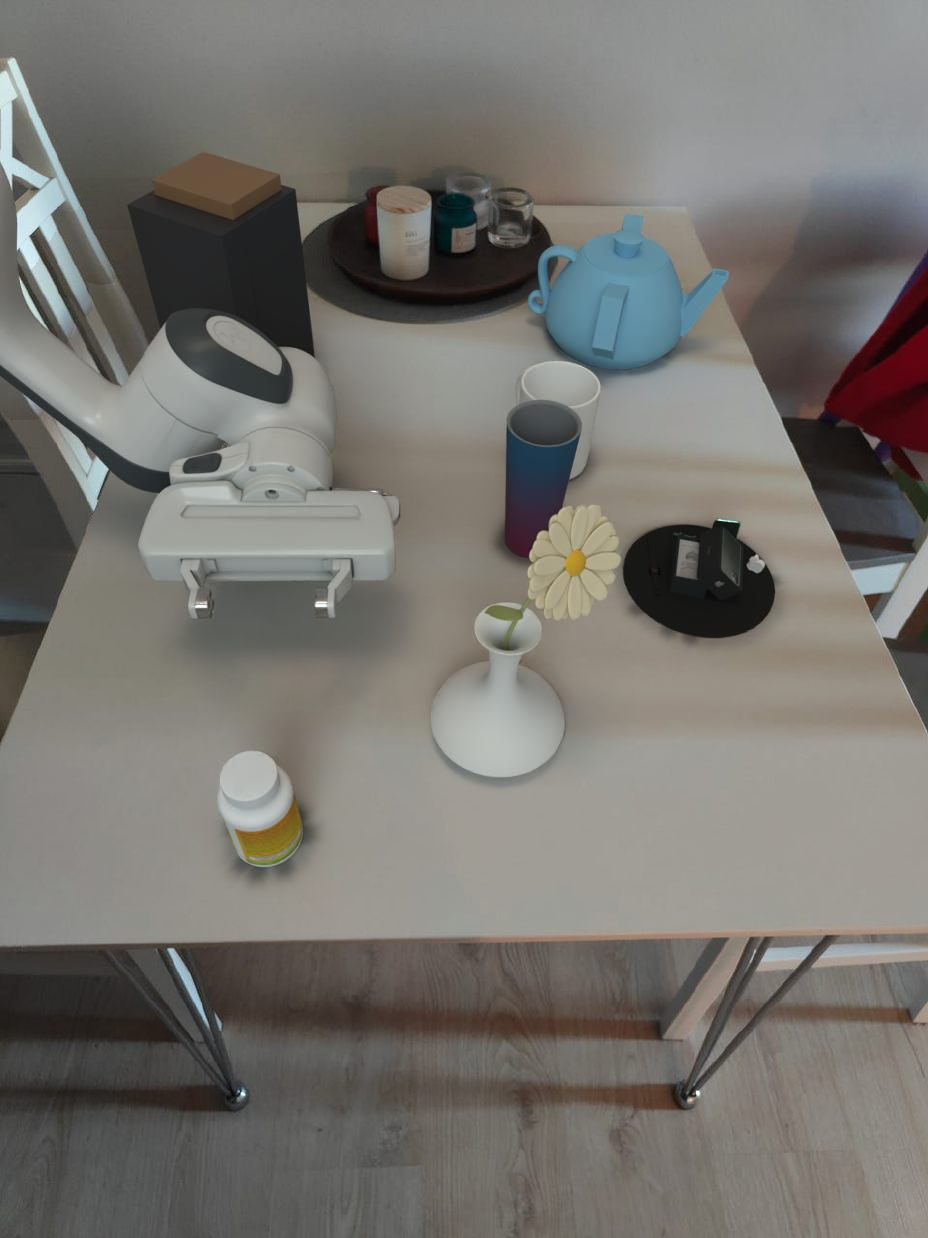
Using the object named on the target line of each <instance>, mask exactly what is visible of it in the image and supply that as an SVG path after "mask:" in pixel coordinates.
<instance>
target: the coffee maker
mask: <svg viewBox="0 0 928 1238" xmlns="http://www.w3.org/2000/svg"><path fill="white" fill-rule="evenodd" d="M281 181H282V180H281V174H280V173H276V172H274V171H270V170H267V169H263V168H260V167H256V166H254V165H250V164H246V163H243V162H240V161H236V160H232V159H229V158H226V157H223V156H218V155H216V154H213V153H209V152H207V151H202V152H200V153H197V154H196V155H194V156H192V157H191V158H188V159H186V160H185V161H183V162H181V163H179V164H178V165H176V166H174V167H171V168H170V169H168V170H166V171H164V172H163V173H161V174H159V175H157V176H155V177H153V178H152V179H151V184H152V188H153V190H151V191H149V192H148V193H145V194H144V195H142V196H140V197H138V198H136V199H134V200H133V201H131V202H129V203H127V205H126V206H127V210H128V213H129V217H130V222H131V224H132V228H133V232H134V236H135V240H136V243H137V247H138V251H139V255H140V258H141V261H142V265H143V269H144V274H145V276H146V280H147V284H148V288H149V292H150V295H151V299H152V302H153V307H154V311H155V314H156V318H157V322H158V326H159V330H160V329H161V328H162V326H163V325H164V324H165V322H166V321H167V319H168V317H169V316H170V315H171V314H173V313H174V312H176V311H179V310H183V309H189V308H206V309H213V310H218V311H222V312H226V313H230V314H233V315H235V316H237V317H239V318H241V319H243V320H244V321H246V322H248V323H249V324H251V325H253V326H254V327H256V328H257V329H258V330H260V331H261V332H262V333H263V334H265V335H266V336H267V337H268V338H269V339H270V340H271V341H272V342H274V343H275V344H276V345H277V346H278V347H292V348H296V349H300V350H302V351H304V352H306V353H308V354H310V355H311V356H312V357H314V358H315V359H316V354H315V345H314V337H313V328H312V320H311V311H310V303H309V293H308V284H307V276H306V267H305V260H304V259H305V258H304V251H303V242H302V233H301V226H300V225H301V224H300V216H299V210H298V209H299V208H298V207H299V206H298V199H297V192H296V191H297V190H296V188H294V187H290V186H287V185H283V184H282V182H281Z"/></svg>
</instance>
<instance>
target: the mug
mask: <svg viewBox="0 0 928 1238" xmlns="http://www.w3.org/2000/svg"><path fill="white" fill-rule="evenodd" d="M601 388H602V386H601V383H600V380H599V378H598V377H597V375H595V373H594V372H593V371H592V370H590V369H589V368H587V367H586V366H583V365H581V364H578V363H574V362H571V361H564V360H549V361H543V362H539V363H536V364H534V365H532V366H527V367H525V368H522V370H521V371H520V373H519V374H518V376H517V379H516V384H515V401H516V406H517V405H519V404H521V403H524V402H527V401H531V400H550V401H555V402H558V403H561V404H564V405H566V406H568V407H569V408H571V409H572V410H574V411H575V412H576V413H577V414H578V416H579V417H580V419H581V422H582V430H581V434H580V438H579V442H578V446H577V450H576V454H575V458H574V462H573V466H572V470H571V474H570V478H569V481H570V480H572V479H574V478H576V477H578V475H580V474H581V473H582V472H583V471H584V469H585V467H586V465H587V462H588V459H589V454H590V449H591V445H592V439H593V434H594V428H595V423H596V416H597V412H598V406H599V400H600V395H601V390H602V389H601Z"/></svg>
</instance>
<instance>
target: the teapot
mask: <svg viewBox="0 0 928 1238" xmlns="http://www.w3.org/2000/svg"><path fill="white" fill-rule="evenodd" d="M643 223H644V215H638V214H630V213H629V214H628V213H624V215H623V221H622V227H621V229H620V230H617V231H615V232H613V233H612V232H611V233H604V234H600V235H596V236H594V237H592V238H591V239H589V240H587V241H586V242H585V243H584V244H583V245H582V246H580V247H579V249H578V250H577V249H575V247H572V246H570V245H567V244H555V245H552V246H550V247H548V248H547V249H545V250H544V251H542V253H541V255H540V257H539V259H538V261H537V262H538V263H537V279H538V284H539V289H535V290H533V291H532V292H531V293H530V294H529V295H528V298H527V306H528V309H529V310H530V311H531V312H532V313H534V314H535V315H537V316H538V315H540V316H543V315H544V321H545V325H546V329H547V330H548V332H549V335H550V336H551V337H552V339H553V340H554V342H556V344H557V346H559V347H560V348H561V350H563V352H564V353H565V354H566V355H568V356H569V357H571V358H573V359H574V360H576V361H579V362H580V363H583V364H586V365H588V366H592V367H594V368H595V367H596V368H600V369H606V370H630V369H631V370H632V369H638V368H641V367H644V366H647V365H649V364H652V363H653V362H655V361H657V360H659V359H660V358H662V357H663V356H665V355H666V354H668V353H669V352H670V351H672V349H673V348H674V347H675V346H676V345H677V343H678V342H679V341H680V339H681V337H686V336H687V334H688V333H689V332H690V331H691V329H692V327H693V326H694V325H695V323H696V322H697V321H698V320H699V318H700V317H701V315H703V313H704V311H705V310H706V309H707V308H708V307H709V305H710V304H711V303H712V301H713V300H714V298H715V297H716V296H717V294H719V292H720V290H721V289H722V287H723V286H724V285H725V284H726V283H727V281H728V280H729V277H730V270H726V269H722V268H721V269H720V268H715V267H713V269H712V270H711V271H710V272H709V273H708V275H706V276H705V277H704V278H703V279H702V280H701V281H700V282H699V283H698V284H697V285H696V286H695V287H693V289H692V290H691V291H689V293H683V288H682V285H681V282H680V279H679V276H678V273H677V271H676V268H675V266H674V263H673V261H672V259H671V257H670V255H669V253H668V252H667V250H666V249H665V248H664V247H663V246H662V245H660V244H659V243H658V242H656V241H654V240H653V239H650V238H648V237H644V235H643V234H642V231H643ZM555 257H560V258H564V259H566V260H568V262H567V263H566V265H564V267H563V268H562V269H561V271H560V272H559V274H558V276H557V277H556V279H555V281H554V283H553V285H552V287H551V286H550V280H549V275H548V263H549V260H550V259H551V258H555ZM536 298H540V299H541V303H540V302H538V301H537V300H536Z"/></svg>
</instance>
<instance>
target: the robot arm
mask: <svg viewBox="0 0 928 1238" xmlns="http://www.w3.org/2000/svg"><path fill="white" fill-rule="evenodd" d="M21 284H22V283H21V279H20V273H19V265H18V214H17V205H16V202H15V196H14V192H13V188H12V186H11V183H10V180H9V177H8V175H7V173H6V171H5V168H4V166H3V163H2V162H1V161H0V377H1V378H2V379H3V380H4V381H6V382H7V383H8V384H10V385H11V386H12V387H14V388H15V389H16V390H17V391H18V392H20V393H21V394H22V395H24V397H26V398H27V399H29V400H30V401H31V402H33V403H34V404H35V405H36V406H37V407H39V408H40V409H41V410H43V411H44V412H45V413H47V414H48V415H49V416H50V417H52V418H53V419H54V420H55V421H56V422H58V423H59V424H61V426H62V427H64V428H65V429H66V430H68V431H69V432H71V433H72V434H73V435H74V436H75V437H76V438H78V439H79V440H80V441H81V442H82V443H83V444H84V445H85V446H86V447H87V448H89V450H90V451H91V452H92V453H93V454H94V455H95V456H96V457H97V458H98V459H99V460H100V462H101V463H102V464H103V465H104V466H105V467H106V468H107V469H108V470H109V471H110V472H111V473H112V474H113V475H114V476H115V477H117V478H118V479H119V480H120V481H122V482H123V483H125V484H127V485H128V486H130V487H132V488H135V489H136V490H139V491H142V492H146V493H151V494H152V493H153V494H157V495H156V497H155V498H154V500H153V501H152V504H151V505H150V508H149V511H148V513H147V515H146V517H145V520H144V522H143V525H142V528H141V531H140V534H139V538H138V542H137V543H138V545H137V549H138V553H139V558H140V560H141V563H142V565H143V566H142V567H143V568H144V571H146V573H147V574H148V576H150V578H151V579H152V580H153V581H155V582H183V585H184V589H185V590H186V592H187V593H188V596H189V597H188V601H187V609H188V610H187V611H188V612H189V616H190V619H192V620H200V619H201V620H203V619H212V618H213V611H214V609H215V600H214V598H213V597H212V596H213V593H212V590H211V588H204V586H205V582H305V581H306V582H313V581H314V582H315V581H316V582H318V581H319V582H321V581H328V582H329V581H330V582H329V583H328V585H327V586H326V587H316V588H315V599H314V611H315V617H316V619H335V618H336V617H337V605H338V603H339V602H340V601H341V600H342V599H343V598H344V597H345V596H346V595H347V593H348V592H349V591H350V590H351V589H352V587H353V582H354V581H386V580H388V579H389V578H390V577H391V576H392V575H393V574H394V573H395V572H396V570H397V552H396V534H395V533H396V532H395V526H397V525H398V524H399V521H400V519H401V502H400V500H399V498H398V496H395V495H393V494H392V493H388V492H384V489H383V488H379V487H367V488H355V487H333V479H334V478H333V477H334V461H333V458H332V457H333V456H332V455H333V452H334V449H335V447H336V441H337V429H338V427H337V426H338V407H337V406H338V405H337V398H336V393H335V389H334V385H333V383H332V380H331V378H330V376H329V374H328V372H327V370H326V368H325V367H324V365H322V364H321V362H320V361H319V360H318V359H317V358H316V357H315V358H314V357H312V356H311V355H310V354H308V353H306V352H304V351H302V350H300V349H296V348H292V347H278V346H277V345H276V344H275V343H274V342H272V341H271V340H270V339H269V338H268V337H267V336H266V335H265V334H263V333H262V332H261V331H260V330H258V329H257V328H256V327H254V326H253V325H251V324H249V323H248V322H246V321H244V320H243V319H241V318H239V317H237V316H235V315H233V314H230V313H226V312H222V311H218V310H213V309H206V308H189V309H183V310H179V311H176V312H174V313H173V314H171V315H170V316H169V317H168V319H167V321H166V322H165V324H164V325H163V326H162V328H161V329H160V328H159V331H158V332H157V333H156V335H155V336H154V337H153V339H152V340H151V342H150V343H149V344H148V346H147V347H146V349H145V350H144V352H143V353H142V356H141V358H140V360H139V361H138V363H137V364H136V366H135V367H134V369H133V370H132V371H131V372H130V375H129V376H128V377H127V378H126V380H125V381H124V383H123V384H122V385H118V384H115V383H113V382H111V381H110V380H108V379H107V378H106V377H104V376H103V375H102V374H101V373H100V372H99V371H97V370H96V369H95V368H94V367H93V366H91V365H90V364H89V363H88V362H87V361H85V359H83V358H82V357H80V356H79V355H78V354H77V353H76V352H75V351H74V350H72V348H70V347H69V346H67V345H66V344H65V342H63V341H62V340H61V339H59V338H58V337H57V336H55V334H54V333H53V332H51V331H50V330H49V329H48V328H47V327H45V326H44V324H42V323H41V322H40V320H39V319H38V317H37V316H35V314H34V312H33V311H32V310H31V308H30V306H29V303H28V302H27V300H26V297H25V295H24V292H23V288H22V285H21ZM225 443H227V444H228V446H227V447H224V448H222V446H223V445H224V444H225Z"/></svg>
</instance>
